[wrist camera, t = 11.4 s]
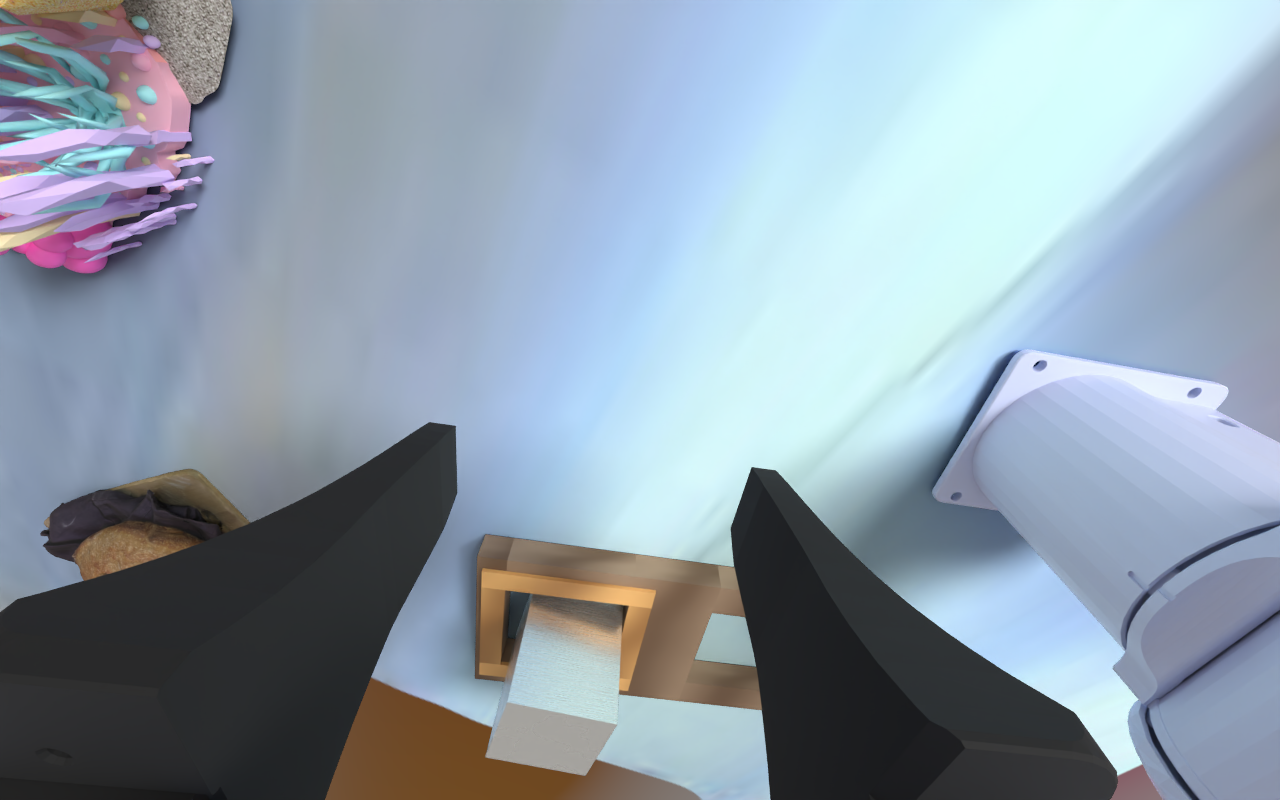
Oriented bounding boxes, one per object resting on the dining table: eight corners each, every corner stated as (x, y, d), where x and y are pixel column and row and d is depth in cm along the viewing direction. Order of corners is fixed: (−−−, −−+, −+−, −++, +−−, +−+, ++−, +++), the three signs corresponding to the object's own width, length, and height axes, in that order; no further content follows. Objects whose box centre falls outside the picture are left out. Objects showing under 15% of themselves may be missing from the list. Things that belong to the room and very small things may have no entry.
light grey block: (623, 593, 28) (617, 724, 22) (597, 644, 31) (585, 775, 24) (538, 572, 27) (507, 702, 21) (518, 626, 30) (485, 757, 24)
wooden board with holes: (857, 583, 28) (869, 610, 26) (795, 690, 33) (802, 717, 31) (485, 534, 26) (475, 559, 24) (482, 654, 31) (473, 681, 30)
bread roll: (200, 450, 24) (131, 501, 21) (309, 568, 28) (265, 626, 25) (34, 503, 26) (-54, 558, 23) (158, 607, 30) (99, 666, 27)
